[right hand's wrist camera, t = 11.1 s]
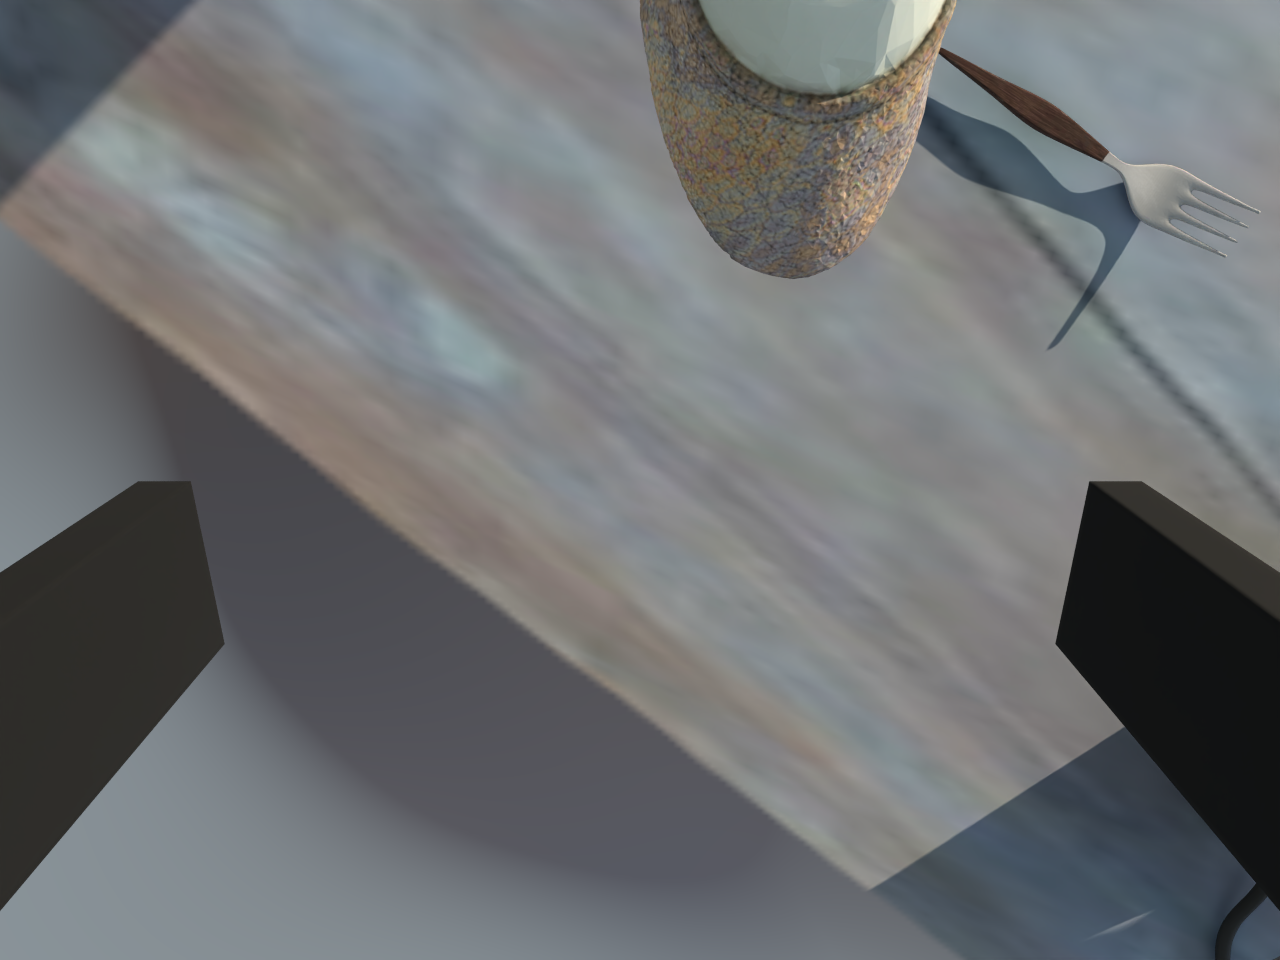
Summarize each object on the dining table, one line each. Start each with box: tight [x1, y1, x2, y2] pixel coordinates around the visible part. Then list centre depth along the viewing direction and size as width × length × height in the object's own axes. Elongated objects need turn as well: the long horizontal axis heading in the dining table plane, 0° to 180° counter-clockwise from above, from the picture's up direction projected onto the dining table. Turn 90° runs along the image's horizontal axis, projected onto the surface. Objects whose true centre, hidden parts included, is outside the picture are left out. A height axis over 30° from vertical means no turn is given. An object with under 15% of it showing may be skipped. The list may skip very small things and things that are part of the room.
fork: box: [939, 47, 1260, 257], centre depth 37 cm, size 3×16×2 cm, turn 62°
